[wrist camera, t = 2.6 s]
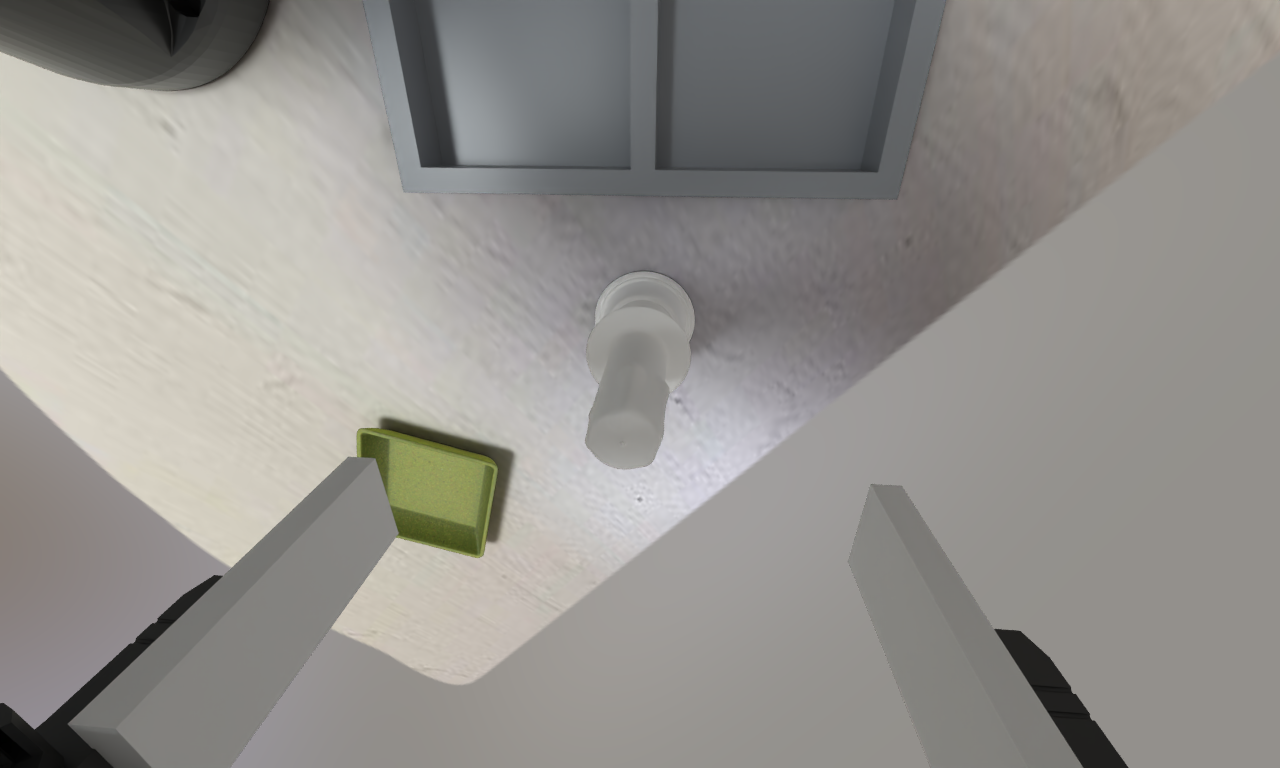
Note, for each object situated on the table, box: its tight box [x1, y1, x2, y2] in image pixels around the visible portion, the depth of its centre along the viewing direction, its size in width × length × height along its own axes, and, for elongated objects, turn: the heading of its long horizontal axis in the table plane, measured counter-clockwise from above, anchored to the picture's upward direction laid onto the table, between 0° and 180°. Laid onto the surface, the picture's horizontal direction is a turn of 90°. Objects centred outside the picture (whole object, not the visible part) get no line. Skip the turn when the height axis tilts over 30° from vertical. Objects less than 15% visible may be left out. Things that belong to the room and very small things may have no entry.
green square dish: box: [357, 428, 498, 558], centre depth 31 cm, size 9×9×2 cm
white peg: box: [585, 271, 695, 469], centre depth 20 cm, size 5×5×12 cm
